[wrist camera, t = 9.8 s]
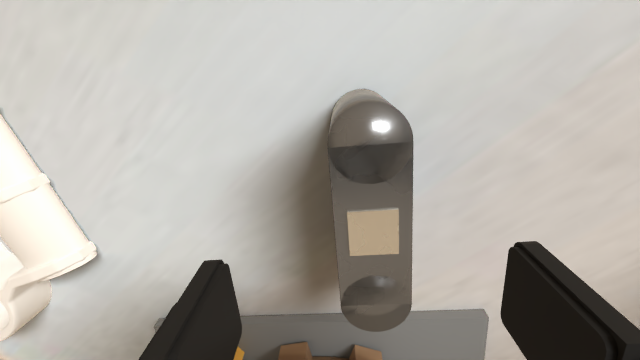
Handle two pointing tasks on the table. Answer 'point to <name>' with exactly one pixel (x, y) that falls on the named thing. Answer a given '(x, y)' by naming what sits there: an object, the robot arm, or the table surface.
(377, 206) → the chain link
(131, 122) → the table surface
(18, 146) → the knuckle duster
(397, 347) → the index base plate
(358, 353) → the sprocket wheel
